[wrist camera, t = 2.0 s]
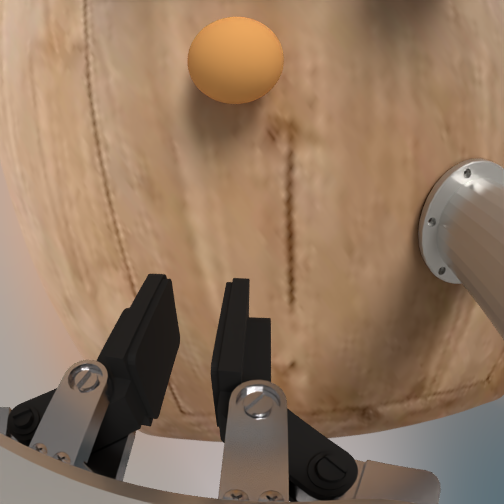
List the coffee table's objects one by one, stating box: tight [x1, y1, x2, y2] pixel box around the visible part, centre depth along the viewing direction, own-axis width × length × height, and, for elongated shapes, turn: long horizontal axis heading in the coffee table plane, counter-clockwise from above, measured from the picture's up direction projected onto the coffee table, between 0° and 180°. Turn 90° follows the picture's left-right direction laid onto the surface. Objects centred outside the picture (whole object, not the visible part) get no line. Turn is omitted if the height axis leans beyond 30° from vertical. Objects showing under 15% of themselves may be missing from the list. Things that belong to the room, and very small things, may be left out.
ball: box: [188, 17, 284, 104], centre depth 17 cm, size 6×6×6 cm
